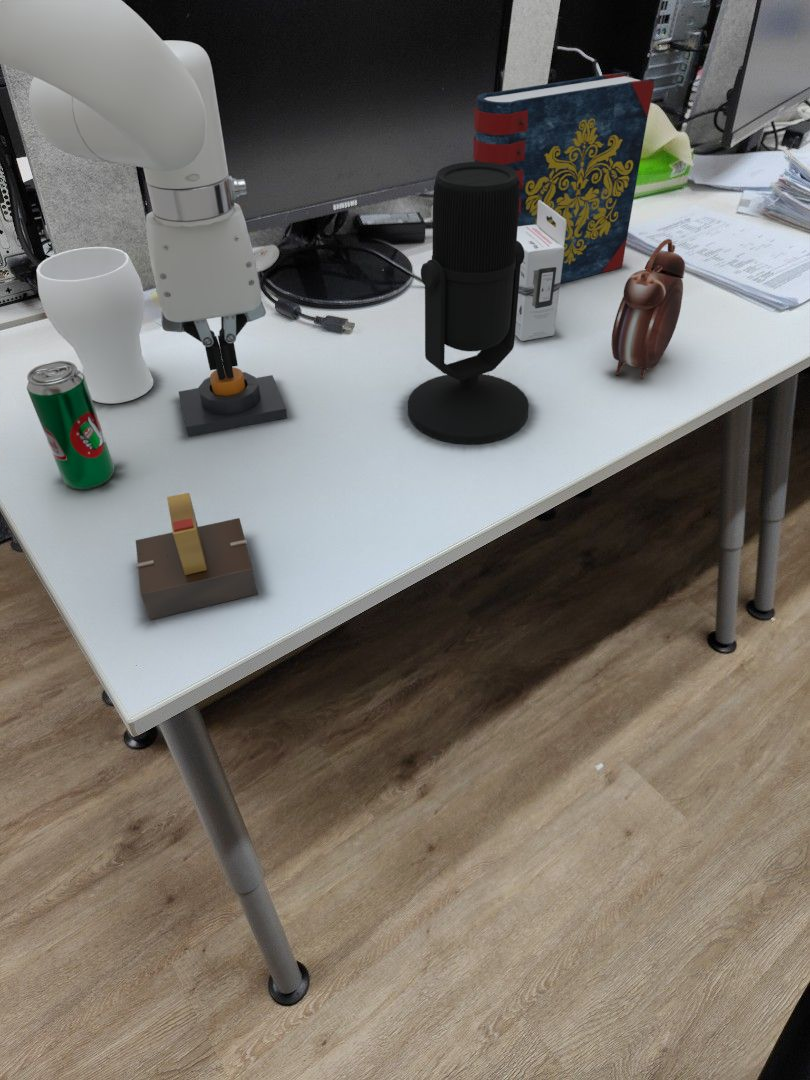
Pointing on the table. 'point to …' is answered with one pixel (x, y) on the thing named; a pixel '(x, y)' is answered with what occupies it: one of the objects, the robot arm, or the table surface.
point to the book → (572, 158)
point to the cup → (99, 318)
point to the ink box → (540, 274)
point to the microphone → (471, 306)
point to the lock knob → (186, 533)
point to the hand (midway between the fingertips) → (224, 372)
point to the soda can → (70, 424)
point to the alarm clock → (649, 310)
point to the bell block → (231, 406)
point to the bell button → (228, 383)
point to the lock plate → (179, 592)
